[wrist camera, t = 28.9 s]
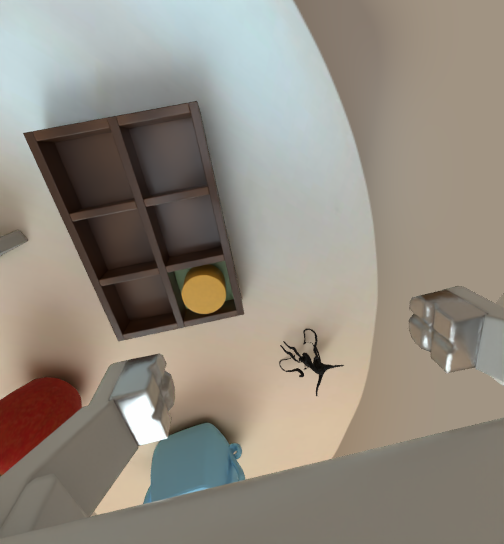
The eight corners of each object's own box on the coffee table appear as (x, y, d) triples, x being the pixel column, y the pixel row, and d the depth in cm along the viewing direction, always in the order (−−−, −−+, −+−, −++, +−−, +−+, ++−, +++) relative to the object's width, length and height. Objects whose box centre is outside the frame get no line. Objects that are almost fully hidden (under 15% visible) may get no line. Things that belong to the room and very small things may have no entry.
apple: (113, 393, 40) (66, 502, 28) (60, 425, 42) (-9, 544, 29) (57, 346, 36) (-28, 449, 24) (0, 383, 38) (-111, 500, 25)
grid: (199, 107, 28) (197, 100, 25) (241, 300, 37) (244, 314, 34) (45, 135, 27) (22, 133, 24) (126, 325, 36) (118, 341, 33)
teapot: (122, 444, 45) (93, 533, 34) (226, 406, 44) (229, 484, 33) (159, 486, 50) (143, 575, 39) (253, 451, 49) (263, 533, 38)
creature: (267, 356, 42) (310, 382, 43) (266, 378, 37) (314, 407, 38) (296, 317, 40) (341, 345, 41) (300, 335, 35) (351, 367, 36)
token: (220, 260, 34) (220, 270, 31) (229, 295, 36) (230, 309, 33) (179, 268, 34) (176, 280, 30) (190, 303, 36) (188, 318, 32)
